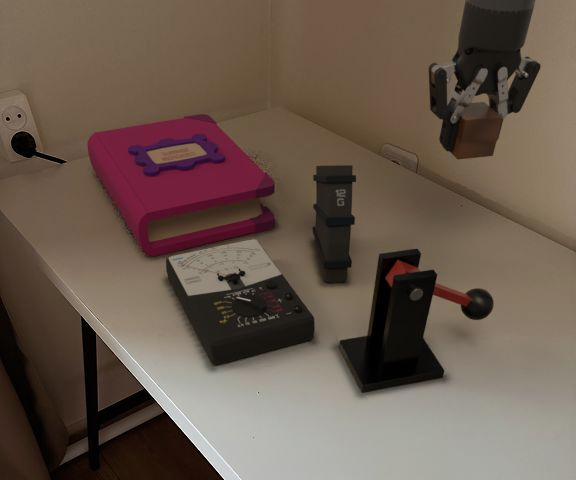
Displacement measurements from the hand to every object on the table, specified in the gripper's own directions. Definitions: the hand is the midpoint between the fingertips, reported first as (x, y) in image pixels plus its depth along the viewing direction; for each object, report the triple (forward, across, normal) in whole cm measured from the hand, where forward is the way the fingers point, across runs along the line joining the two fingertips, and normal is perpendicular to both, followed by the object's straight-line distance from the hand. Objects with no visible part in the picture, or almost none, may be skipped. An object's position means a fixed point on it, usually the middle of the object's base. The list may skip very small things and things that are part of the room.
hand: (467, 146), depth 83 cm
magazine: (+15, -18, +1) cm, 23 cm away
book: (+15, -36, +22) cm, 45 cm away
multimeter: (+15, -32, -8) cm, 37 cm away
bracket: (+15, -17, -22) cm, 31 cm away
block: (0, 0, 0) cm, 0 cm away
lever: (+8, -13, -22) cm, 26 cm away
